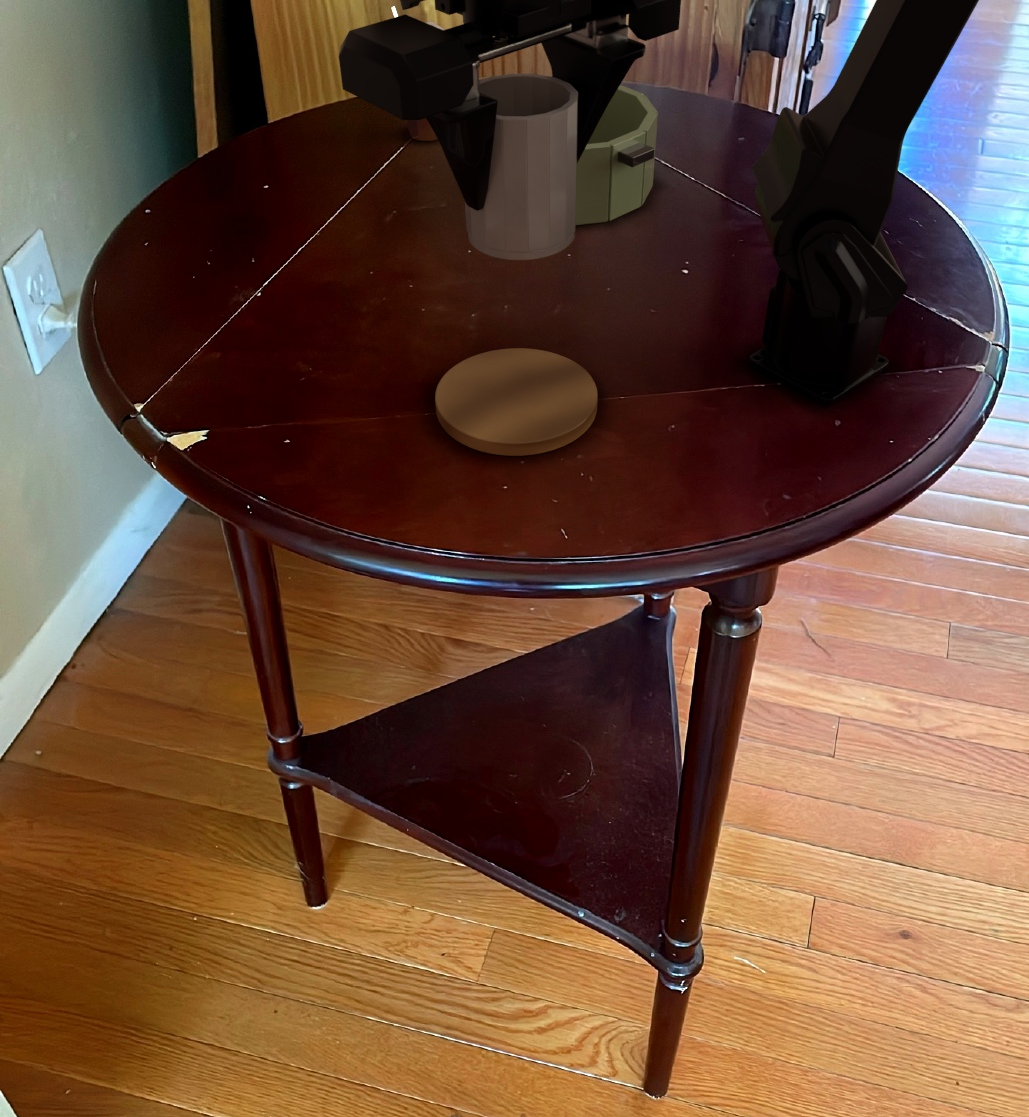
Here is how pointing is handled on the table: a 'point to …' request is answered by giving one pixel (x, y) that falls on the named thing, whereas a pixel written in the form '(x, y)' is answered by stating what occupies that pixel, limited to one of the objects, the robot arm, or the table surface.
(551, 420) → the disc
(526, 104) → the small pot
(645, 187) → the big pot
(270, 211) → the table surface
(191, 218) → the table surface
